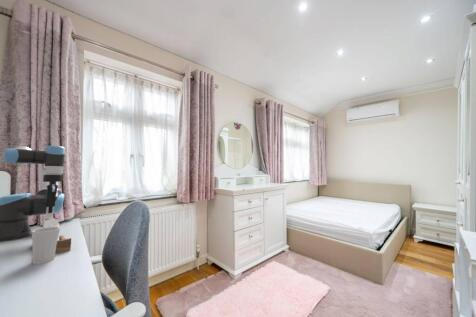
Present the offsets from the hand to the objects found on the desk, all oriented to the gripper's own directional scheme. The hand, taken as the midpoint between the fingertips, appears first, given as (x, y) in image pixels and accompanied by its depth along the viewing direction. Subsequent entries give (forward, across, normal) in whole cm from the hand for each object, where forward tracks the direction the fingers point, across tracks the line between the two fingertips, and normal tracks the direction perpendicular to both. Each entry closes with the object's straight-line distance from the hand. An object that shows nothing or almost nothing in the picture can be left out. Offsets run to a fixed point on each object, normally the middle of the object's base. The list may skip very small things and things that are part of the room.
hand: (49, 219), depth 102 cm
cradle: (+11, +15, 0) cm, 19 cm away
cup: (+11, +33, -4) cm, 35 cm away
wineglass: (+11, +9, 0) cm, 14 cm away
